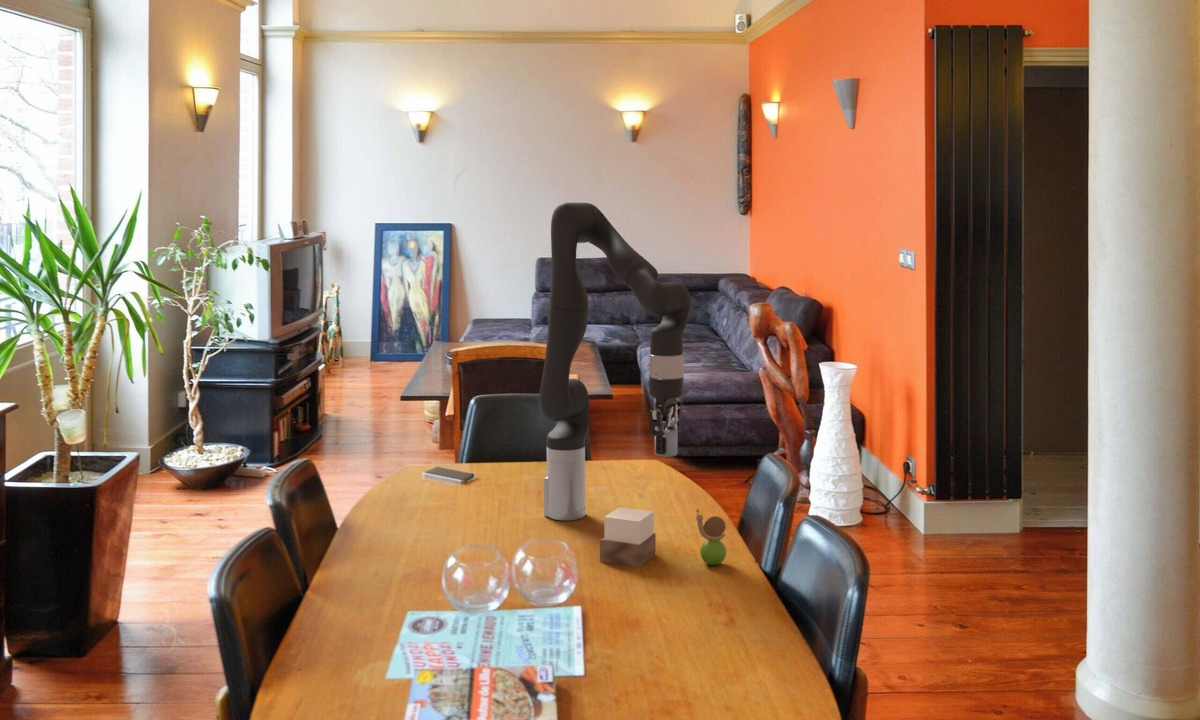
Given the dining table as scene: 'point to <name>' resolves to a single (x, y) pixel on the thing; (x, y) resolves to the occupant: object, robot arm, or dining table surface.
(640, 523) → the tower top
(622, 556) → the tower base
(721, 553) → the snail figurine
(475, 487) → the dining table surface
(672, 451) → the grey blue cylinder
